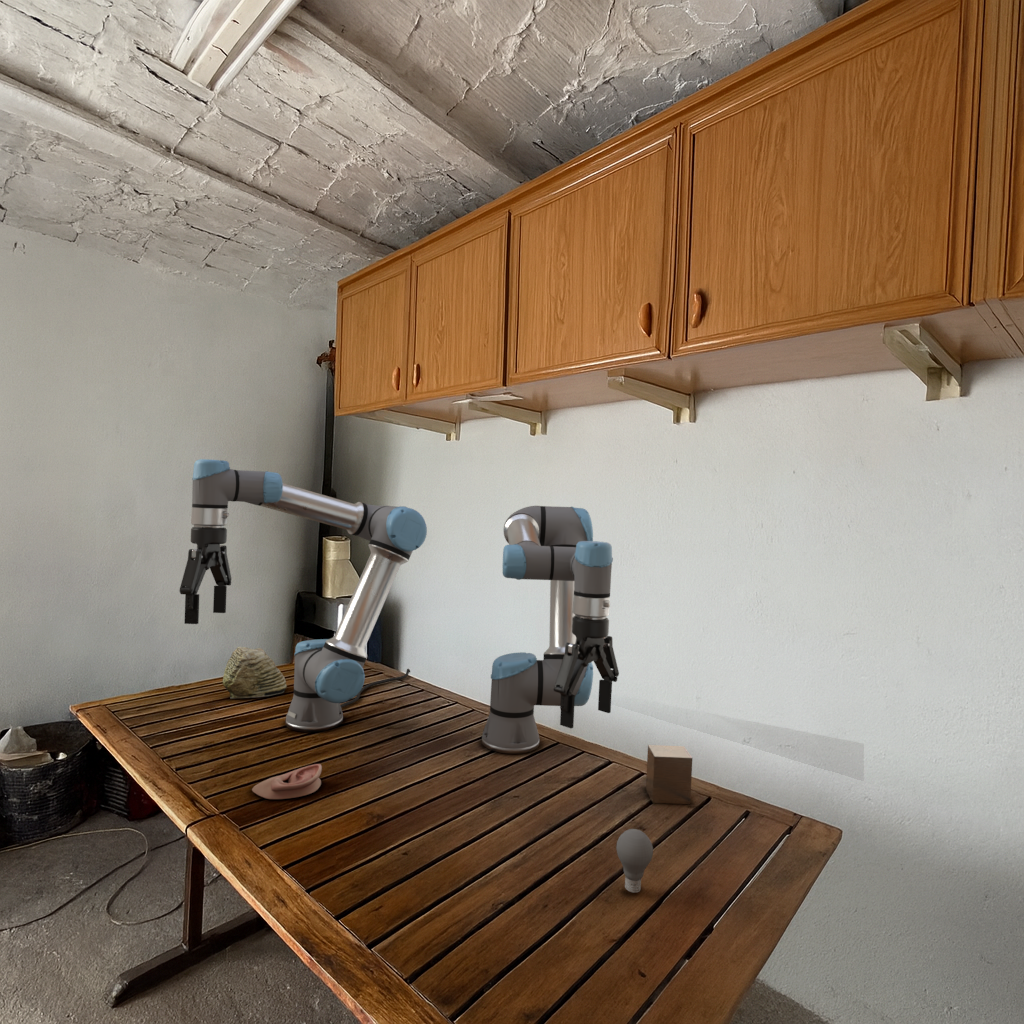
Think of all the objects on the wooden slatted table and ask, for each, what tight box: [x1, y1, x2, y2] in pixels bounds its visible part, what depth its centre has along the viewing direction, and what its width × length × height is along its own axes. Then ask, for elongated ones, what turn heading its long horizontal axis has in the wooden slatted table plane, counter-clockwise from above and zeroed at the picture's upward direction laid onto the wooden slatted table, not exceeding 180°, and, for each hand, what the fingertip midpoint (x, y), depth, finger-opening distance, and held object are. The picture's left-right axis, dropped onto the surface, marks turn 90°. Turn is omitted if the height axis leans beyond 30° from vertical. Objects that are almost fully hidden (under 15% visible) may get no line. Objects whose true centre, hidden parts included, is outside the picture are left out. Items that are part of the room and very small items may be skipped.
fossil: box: [222, 646, 288, 699], centre depth 198 cm, size 9×18×15 cm, turn 132°
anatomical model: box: [251, 763, 323, 800], centre depth 137 cm, size 13×4×12 cm
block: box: [645, 744, 693, 805], centre depth 141 cm, size 8×6×10 cm
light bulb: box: [615, 828, 654, 894], centre depth 106 cm, size 6×6×10 cm
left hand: (206, 618), depth 147 cm, fingers open, 13 cm apart
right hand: (586, 718), depth 131 cm, fingers open, 13 cm apart
